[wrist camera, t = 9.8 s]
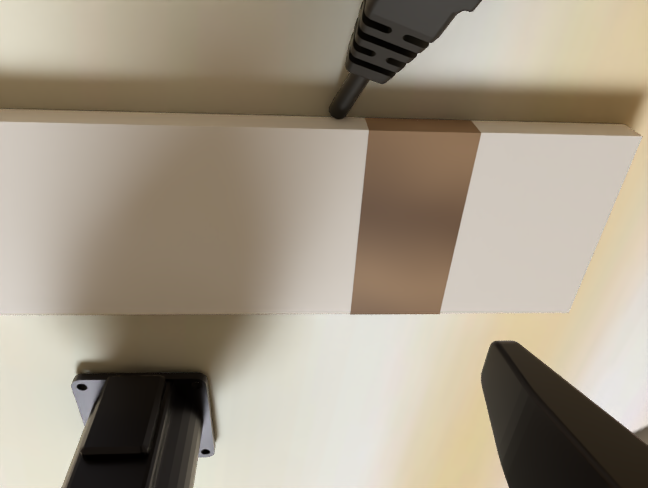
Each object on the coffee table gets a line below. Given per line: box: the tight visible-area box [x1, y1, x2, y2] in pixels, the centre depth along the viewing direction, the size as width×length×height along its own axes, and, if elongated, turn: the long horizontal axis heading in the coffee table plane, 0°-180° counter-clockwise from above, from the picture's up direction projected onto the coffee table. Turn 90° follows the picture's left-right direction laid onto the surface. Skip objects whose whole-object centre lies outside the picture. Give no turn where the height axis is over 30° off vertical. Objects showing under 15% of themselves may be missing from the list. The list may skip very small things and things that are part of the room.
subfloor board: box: [0, 109, 642, 315], centre depth 20 cm, size 8×28×1 cm, turn 87°
